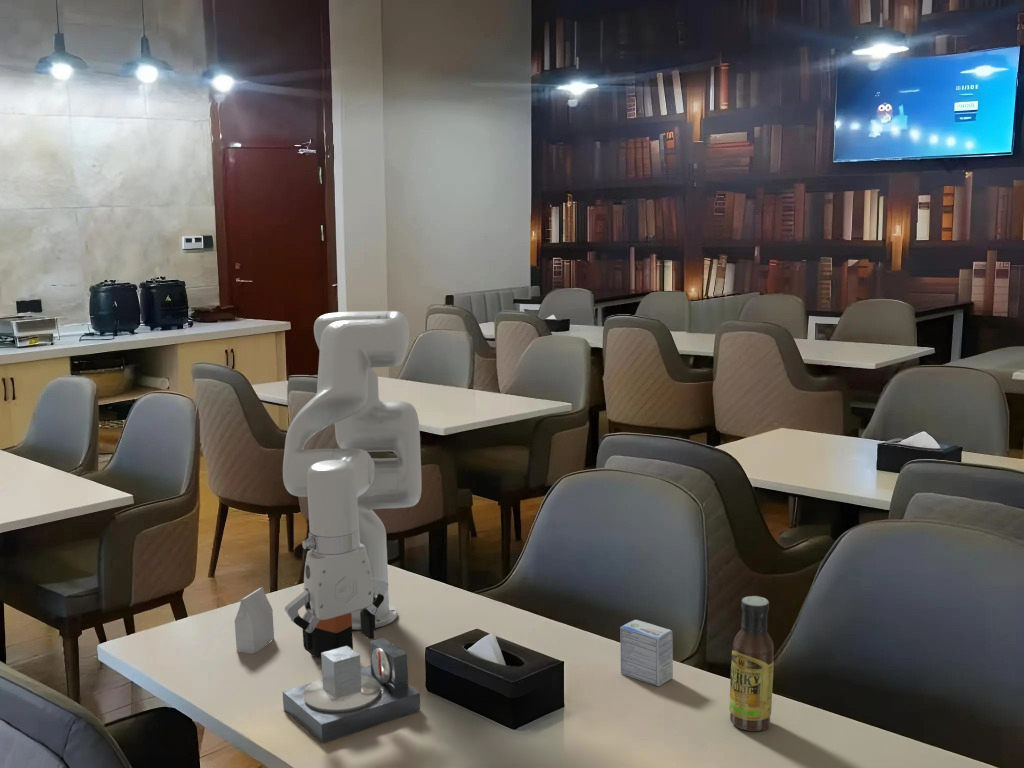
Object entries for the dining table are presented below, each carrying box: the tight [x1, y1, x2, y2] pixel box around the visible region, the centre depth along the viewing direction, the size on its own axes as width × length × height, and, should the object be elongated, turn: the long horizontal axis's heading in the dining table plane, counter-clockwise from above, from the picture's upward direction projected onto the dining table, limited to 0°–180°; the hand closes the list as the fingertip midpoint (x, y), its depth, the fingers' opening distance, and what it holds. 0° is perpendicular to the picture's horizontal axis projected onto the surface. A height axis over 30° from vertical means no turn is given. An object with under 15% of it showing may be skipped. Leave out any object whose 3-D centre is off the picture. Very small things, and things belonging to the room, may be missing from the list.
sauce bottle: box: [729, 595, 775, 732], centre depth 160 cm, size 6×6×20 cm
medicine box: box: [619, 619, 674, 687], centre depth 178 cm, size 8×4×9 cm, turn 47°
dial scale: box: [282, 637, 421, 744], centre depth 168 cm, size 14×17×9 cm
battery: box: [310, 613, 354, 659], centre depth 189 cm, size 4×7×10 cm, turn 58°
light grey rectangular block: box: [320, 646, 362, 699], centre depth 167 cm, size 4×4×6 cm
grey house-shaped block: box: [234, 587, 275, 654], centre depth 194 cm, size 4×7×10 cm, turn 161°
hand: (340, 644), depth 167 cm, fingers open, 9 cm apart
